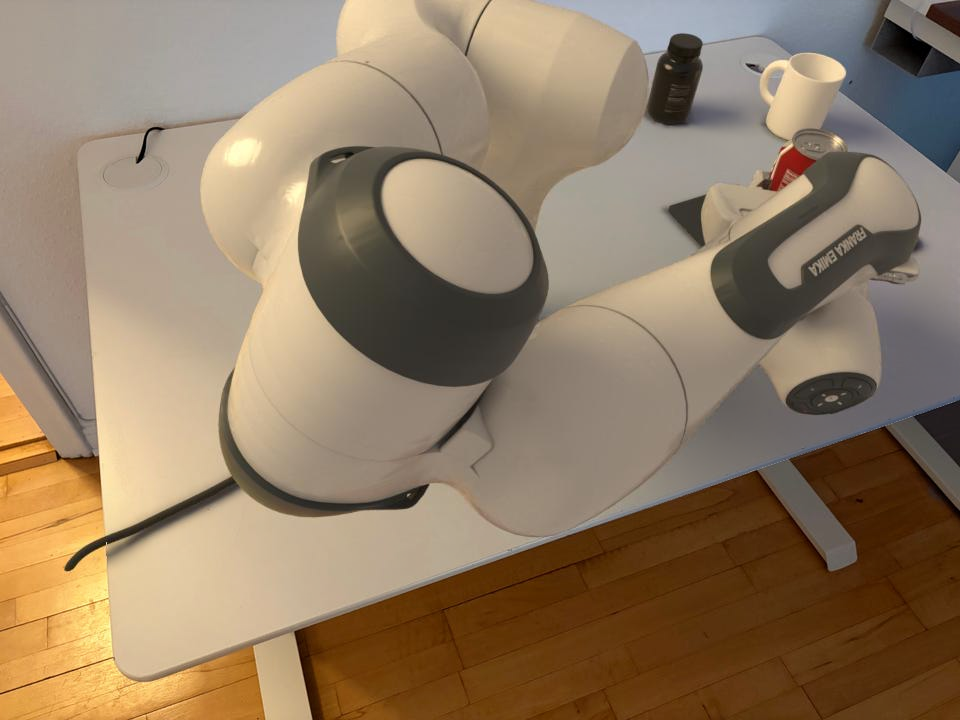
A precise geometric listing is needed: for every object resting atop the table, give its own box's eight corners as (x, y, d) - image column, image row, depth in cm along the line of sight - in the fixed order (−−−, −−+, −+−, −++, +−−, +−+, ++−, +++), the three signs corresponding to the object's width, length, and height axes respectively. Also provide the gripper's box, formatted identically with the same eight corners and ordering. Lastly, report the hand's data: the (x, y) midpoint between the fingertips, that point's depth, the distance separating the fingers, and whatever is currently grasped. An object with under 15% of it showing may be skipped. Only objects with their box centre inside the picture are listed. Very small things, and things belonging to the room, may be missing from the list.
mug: (735, 112, 116) (757, 51, 108) (766, 97, 119) (790, 36, 111) (796, 149, 110) (824, 88, 102) (827, 132, 114) (857, 71, 106)
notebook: (711, 257, 94) (714, 251, 93) (667, 211, 100) (669, 204, 99) (781, 233, 98) (785, 227, 97) (735, 190, 103) (738, 184, 103)
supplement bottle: (694, 111, 116) (717, 38, 106) (678, 131, 112) (700, 57, 103) (655, 96, 118) (674, 24, 108) (638, 116, 114) (656, 42, 105)
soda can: (808, 258, 80) (858, 168, 70) (747, 247, 80) (788, 156, 71) (804, 220, 84) (850, 130, 75) (745, 210, 85) (784, 119, 75)
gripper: (940, 262, 66) (911, 172, 74) (716, 226, 67) (713, 142, 76) (905, 309, 71) (882, 219, 79) (696, 274, 72) (696, 190, 81)
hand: (797, 181), depth 78 cm, fingers closed on soda can, 6 cm apart
